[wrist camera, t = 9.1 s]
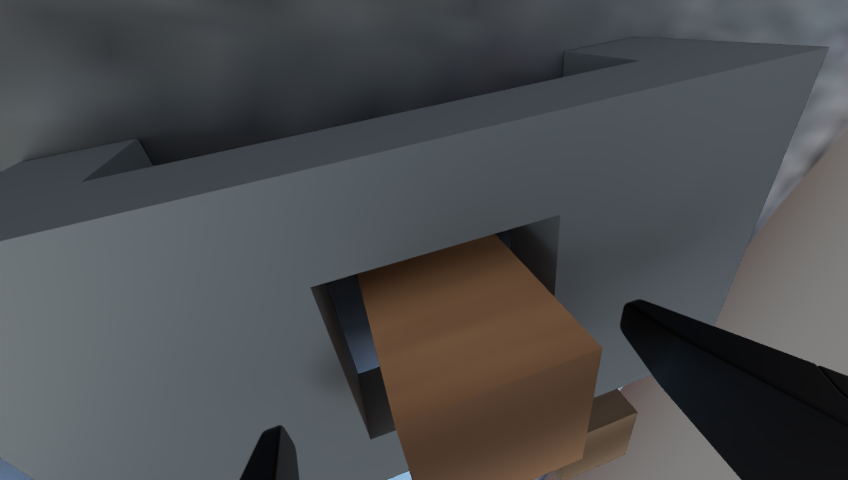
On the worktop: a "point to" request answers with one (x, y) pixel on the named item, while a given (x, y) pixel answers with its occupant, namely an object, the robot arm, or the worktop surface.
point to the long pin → (480, 364)
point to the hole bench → (366, 253)
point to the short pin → (604, 434)
